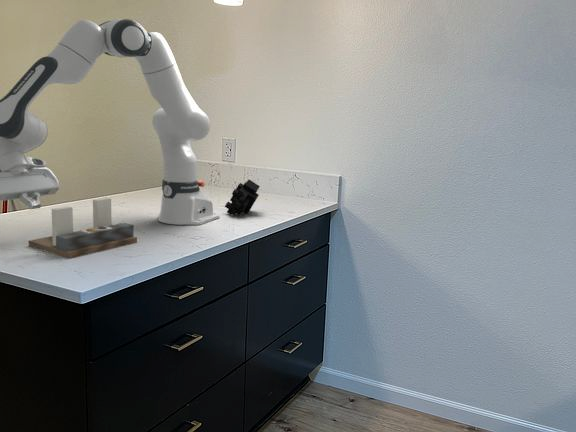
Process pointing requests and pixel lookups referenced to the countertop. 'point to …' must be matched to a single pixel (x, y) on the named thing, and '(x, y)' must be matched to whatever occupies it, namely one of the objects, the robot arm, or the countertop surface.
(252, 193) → the toy
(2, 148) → the robot arm
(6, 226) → the countertop surface
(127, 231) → the console
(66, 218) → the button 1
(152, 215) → the countertop surface
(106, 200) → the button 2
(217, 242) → the countertop surface
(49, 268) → the countertop surface
